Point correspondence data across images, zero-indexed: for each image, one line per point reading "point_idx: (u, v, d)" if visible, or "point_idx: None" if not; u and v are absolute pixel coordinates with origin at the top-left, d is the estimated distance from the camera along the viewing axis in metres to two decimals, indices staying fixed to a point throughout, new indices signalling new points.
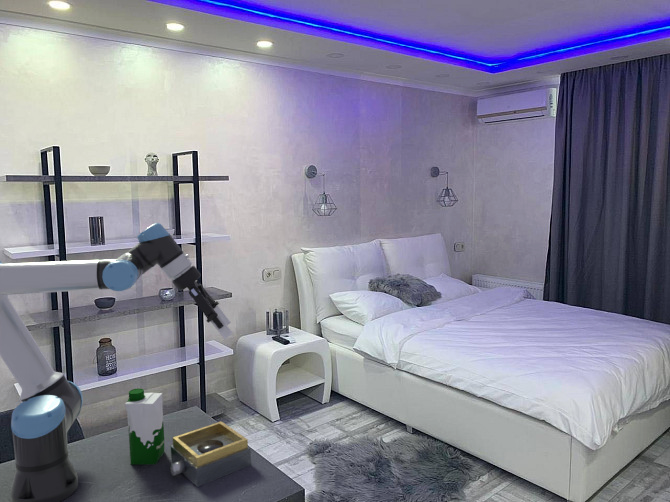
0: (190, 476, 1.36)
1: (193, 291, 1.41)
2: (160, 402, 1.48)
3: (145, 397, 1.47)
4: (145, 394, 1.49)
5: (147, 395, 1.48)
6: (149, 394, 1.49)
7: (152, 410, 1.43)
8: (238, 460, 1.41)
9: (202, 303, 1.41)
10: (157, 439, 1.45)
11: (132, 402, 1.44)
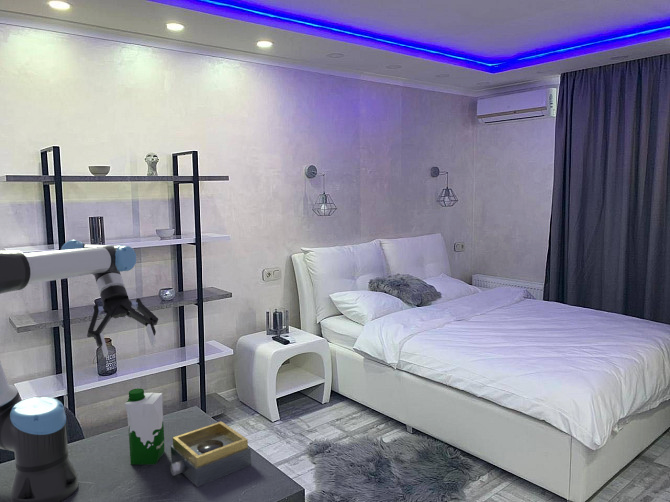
0: (190, 476, 1.36)
1: None
2: (160, 402, 1.48)
3: (145, 397, 1.47)
4: (145, 394, 1.49)
5: (147, 395, 1.48)
6: (149, 394, 1.49)
7: (152, 410, 1.43)
8: (238, 460, 1.41)
9: None
10: (157, 439, 1.45)
11: (132, 402, 1.44)
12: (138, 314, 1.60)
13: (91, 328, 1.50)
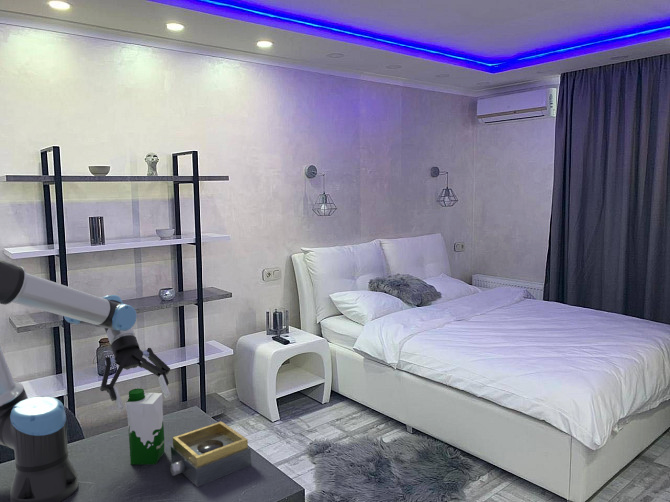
0: (190, 476, 1.36)
1: None
2: (160, 402, 1.48)
3: (145, 397, 1.47)
4: (145, 394, 1.49)
5: (147, 395, 1.48)
6: (149, 394, 1.49)
7: (152, 410, 1.43)
8: (238, 460, 1.41)
9: None
10: (157, 439, 1.45)
11: (132, 402, 1.44)
12: (150, 364, 1.58)
13: (105, 382, 1.48)
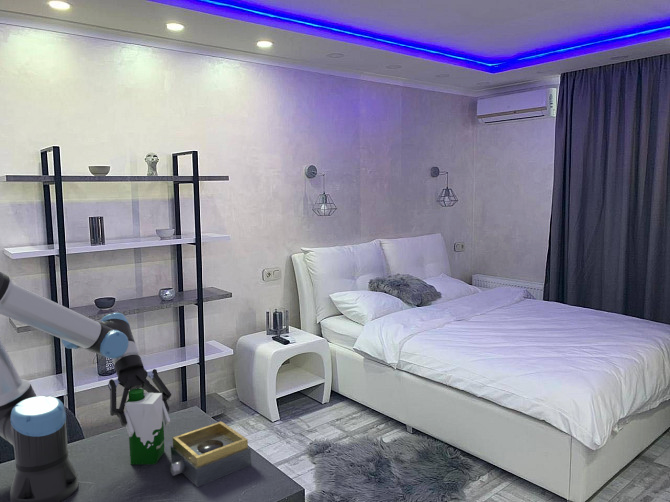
0: (190, 476, 1.36)
1: None
2: (160, 402, 1.48)
3: (145, 397, 1.46)
4: (145, 394, 1.49)
5: (147, 395, 1.48)
6: (149, 394, 1.49)
7: (152, 411, 1.43)
8: (238, 460, 1.41)
9: None
10: (157, 439, 1.45)
11: (132, 402, 1.44)
12: (152, 388, 1.52)
13: (114, 406, 1.43)
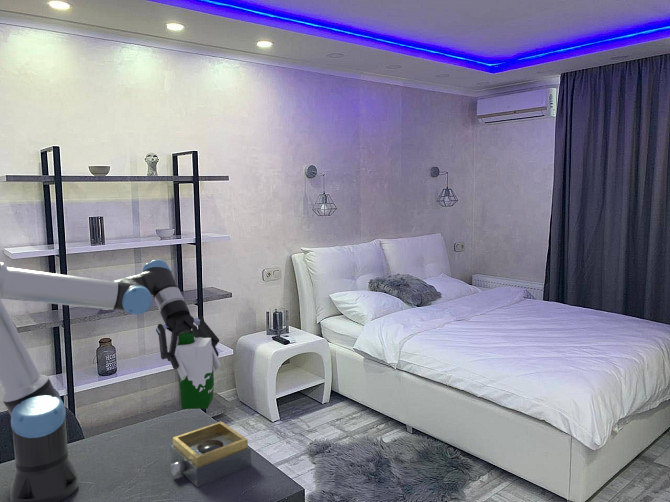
0: (190, 476, 1.36)
1: None
2: (210, 346, 1.45)
3: (195, 341, 1.44)
4: (194, 339, 1.46)
5: (197, 339, 1.45)
6: (198, 338, 1.46)
7: (204, 353, 1.40)
8: (238, 460, 1.41)
9: None
10: (208, 383, 1.43)
11: (183, 345, 1.41)
12: (200, 333, 1.49)
13: (165, 349, 1.40)
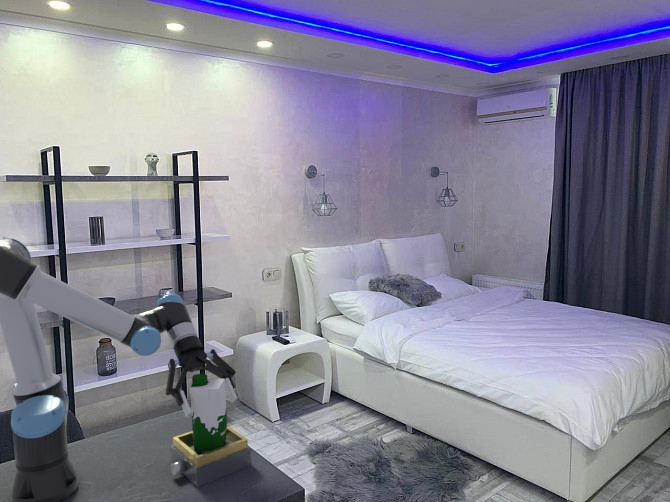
0: (190, 476, 1.36)
1: None
2: (223, 388, 1.44)
3: (209, 382, 1.42)
4: (207, 379, 1.45)
5: (210, 381, 1.44)
6: (212, 379, 1.45)
7: (217, 396, 1.39)
8: (238, 460, 1.41)
9: None
10: (221, 426, 1.41)
11: (196, 387, 1.40)
12: (215, 367, 1.48)
13: (171, 385, 1.38)
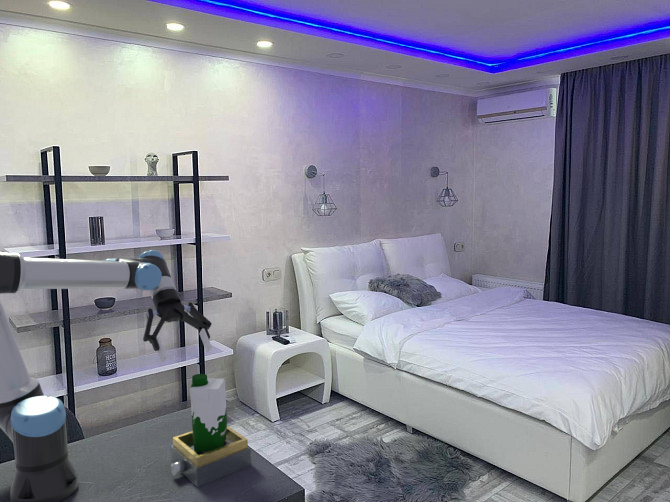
0: (190, 476, 1.36)
1: None
2: (223, 388, 1.44)
3: (208, 382, 1.42)
4: (207, 379, 1.45)
5: (210, 381, 1.44)
6: (212, 379, 1.45)
7: (217, 396, 1.39)
8: (238, 460, 1.41)
9: None
10: (221, 426, 1.41)
11: (196, 387, 1.40)
12: (192, 318, 1.56)
13: (148, 332, 1.47)
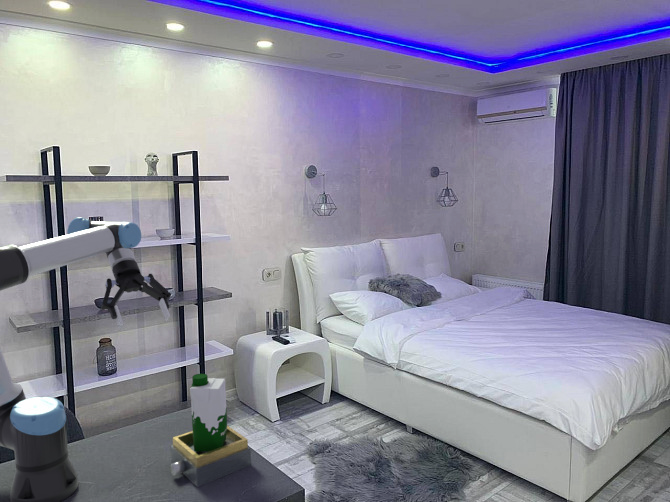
0: (190, 476, 1.36)
1: None
2: (224, 388, 1.44)
3: (209, 382, 1.43)
4: (208, 379, 1.45)
5: (210, 381, 1.44)
6: (212, 379, 1.45)
7: (217, 396, 1.39)
8: (238, 460, 1.41)
9: None
10: (221, 426, 1.41)
11: (197, 387, 1.40)
12: (151, 288, 1.59)
13: (105, 300, 1.49)
